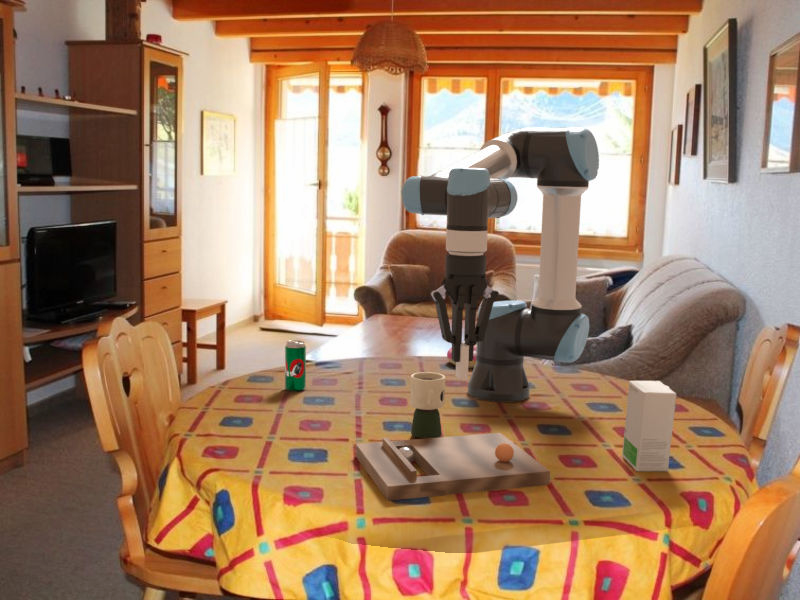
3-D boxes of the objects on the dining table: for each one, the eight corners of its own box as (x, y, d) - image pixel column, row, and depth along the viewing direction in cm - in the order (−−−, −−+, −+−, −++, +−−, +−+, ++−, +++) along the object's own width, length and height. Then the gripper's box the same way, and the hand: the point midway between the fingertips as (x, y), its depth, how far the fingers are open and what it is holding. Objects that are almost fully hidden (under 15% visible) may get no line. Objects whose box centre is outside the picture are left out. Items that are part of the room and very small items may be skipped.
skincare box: (621, 456, 164) (626, 379, 162) (654, 456, 165) (660, 379, 162) (637, 472, 156) (642, 391, 153) (671, 472, 156) (677, 391, 154)
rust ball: (508, 457, 155) (509, 439, 154) (516, 463, 152) (517, 445, 151) (491, 459, 154) (492, 441, 153) (499, 465, 151) (500, 447, 150)
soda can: (309, 388, 208) (310, 341, 206) (296, 393, 204) (296, 345, 202) (294, 385, 211) (294, 338, 209) (280, 389, 206) (280, 342, 204)
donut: (444, 368, 233) (444, 350, 232) (449, 357, 246) (450, 341, 245) (492, 371, 230) (493, 353, 230) (495, 360, 243) (496, 343, 243)
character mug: (447, 445, 168) (449, 382, 166) (412, 446, 168) (414, 383, 165) (438, 428, 179) (440, 369, 177) (405, 428, 178) (407, 369, 176)
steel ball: (392, 446, 157) (395, 463, 158) (397, 453, 154) (400, 470, 155) (409, 442, 158) (412, 459, 159) (414, 448, 155) (417, 465, 156)
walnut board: (499, 444, 170) (500, 425, 169) (549, 484, 149) (550, 463, 148) (355, 456, 161) (356, 436, 160) (387, 500, 140) (388, 477, 139)
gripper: (491, 250, 158) (486, 371, 162) (425, 251, 155) (422, 375, 158) (507, 254, 151) (501, 381, 155) (438, 255, 147) (434, 385, 151)
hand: (461, 378), depth 157 cm, fingers closed
